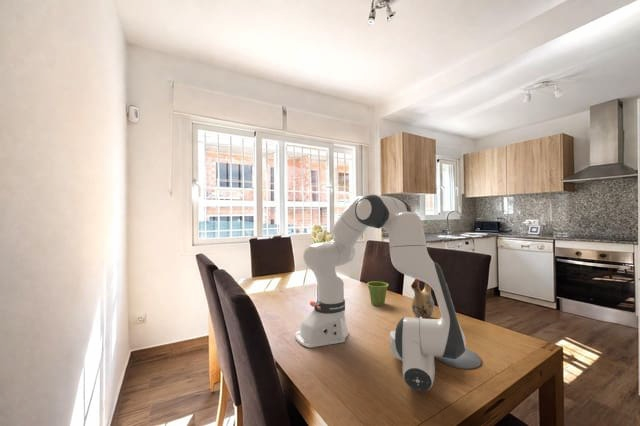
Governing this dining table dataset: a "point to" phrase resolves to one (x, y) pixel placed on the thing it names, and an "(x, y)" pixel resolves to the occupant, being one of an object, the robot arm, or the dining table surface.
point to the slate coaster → (463, 360)
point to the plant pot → (377, 292)
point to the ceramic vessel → (422, 301)
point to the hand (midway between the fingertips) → (420, 333)
